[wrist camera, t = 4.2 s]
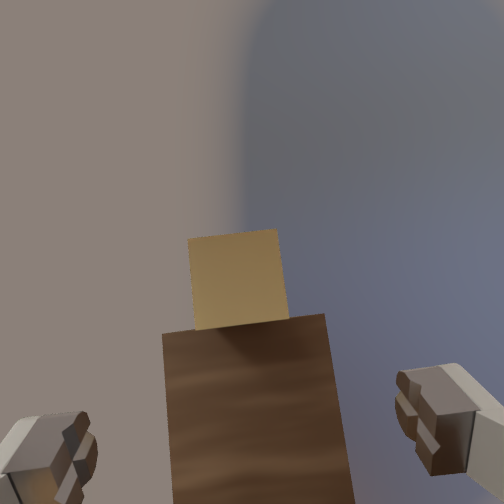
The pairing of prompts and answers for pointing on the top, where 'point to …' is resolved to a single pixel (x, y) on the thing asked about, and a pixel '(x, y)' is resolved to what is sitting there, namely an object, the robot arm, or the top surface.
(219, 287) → the cream tan bar
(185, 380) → the walnut post
